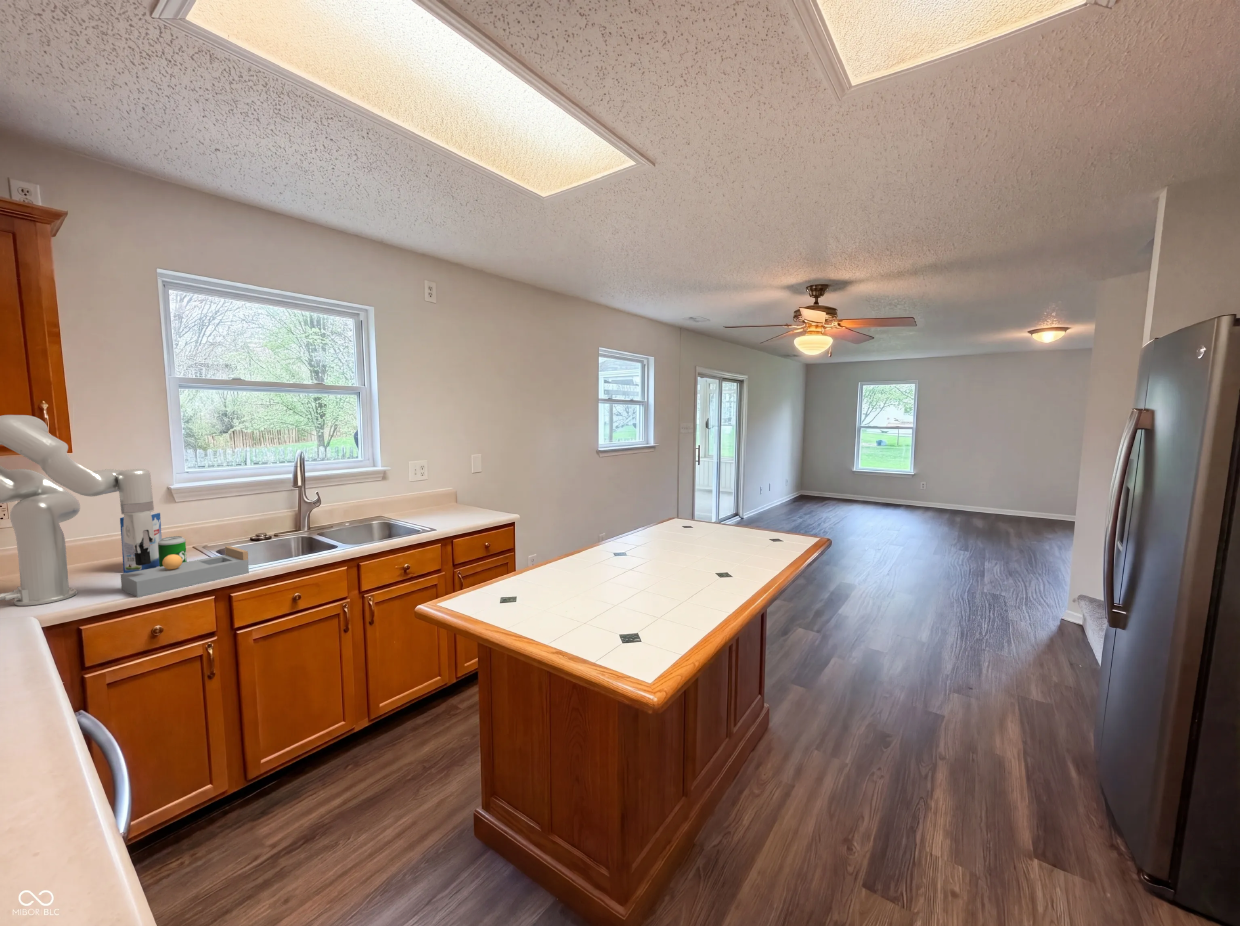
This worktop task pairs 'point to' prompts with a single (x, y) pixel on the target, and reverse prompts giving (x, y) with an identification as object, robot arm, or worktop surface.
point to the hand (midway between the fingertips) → (143, 564)
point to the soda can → (172, 548)
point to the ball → (172, 562)
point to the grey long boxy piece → (186, 573)
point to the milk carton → (128, 549)
